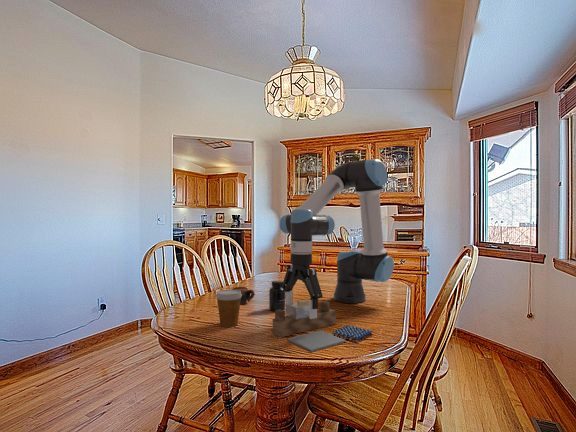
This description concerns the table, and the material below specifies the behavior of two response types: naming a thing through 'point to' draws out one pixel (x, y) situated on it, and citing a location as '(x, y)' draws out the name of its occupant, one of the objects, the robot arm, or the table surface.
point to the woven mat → (353, 333)
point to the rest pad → (316, 340)
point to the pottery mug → (245, 294)
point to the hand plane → (303, 321)
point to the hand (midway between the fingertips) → (300, 313)
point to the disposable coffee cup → (228, 307)
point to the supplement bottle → (276, 296)
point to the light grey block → (298, 309)
